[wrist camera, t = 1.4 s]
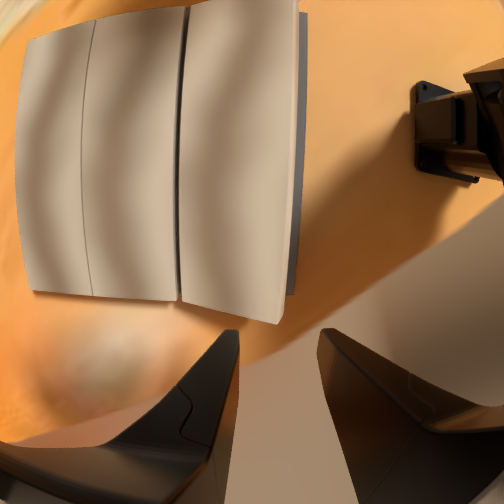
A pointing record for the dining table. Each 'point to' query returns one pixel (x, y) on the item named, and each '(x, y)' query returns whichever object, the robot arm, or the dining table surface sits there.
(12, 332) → the dining table surface
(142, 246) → the laid planks
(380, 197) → the dining table surface
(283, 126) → the loose plank
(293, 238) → the underlay mat
